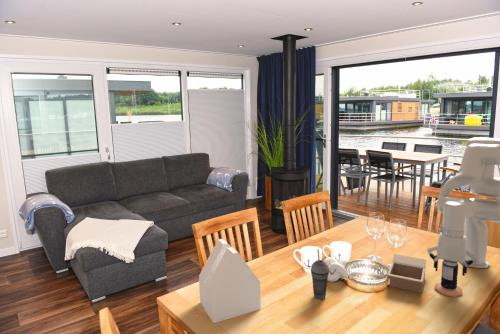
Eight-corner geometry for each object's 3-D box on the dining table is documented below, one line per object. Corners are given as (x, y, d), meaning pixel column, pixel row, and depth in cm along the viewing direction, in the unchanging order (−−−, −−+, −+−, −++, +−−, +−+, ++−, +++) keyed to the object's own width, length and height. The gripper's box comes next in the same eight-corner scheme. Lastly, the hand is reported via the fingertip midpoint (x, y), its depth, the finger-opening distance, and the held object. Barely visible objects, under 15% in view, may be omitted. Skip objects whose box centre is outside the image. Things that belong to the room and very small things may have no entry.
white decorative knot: (356, 280, 157) (357, 261, 156) (336, 288, 151) (337, 268, 149) (337, 271, 167) (338, 252, 165) (318, 277, 160) (318, 259, 159)
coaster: (435, 282, 154) (435, 280, 154) (462, 287, 149) (462, 285, 149) (433, 293, 145) (434, 290, 145) (462, 299, 140) (462, 296, 140)
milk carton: (213, 323, 129) (210, 258, 125) (200, 302, 143) (197, 243, 138) (260, 309, 137) (259, 247, 133) (244, 291, 151) (242, 234, 146)
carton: (393, 267, 168) (394, 254, 167) (425, 273, 161) (426, 259, 160) (385, 290, 148) (385, 274, 147) (421, 298, 142) (422, 282, 140)
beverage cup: (318, 303, 139) (318, 255, 136) (306, 295, 146) (306, 249, 142) (332, 298, 143) (333, 251, 139) (321, 290, 149) (321, 245, 146)
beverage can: (458, 291, 144) (460, 263, 142) (443, 290, 145) (445, 263, 143) (453, 285, 149) (455, 257, 147) (438, 284, 150) (440, 257, 148)
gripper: (427, 232, 144) (425, 271, 147) (478, 238, 135) (475, 280, 138) (429, 226, 150) (426, 264, 153) (477, 232, 142) (474, 272, 145)
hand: (449, 272), depth 146 cm, fingers open, 9 cm apart
